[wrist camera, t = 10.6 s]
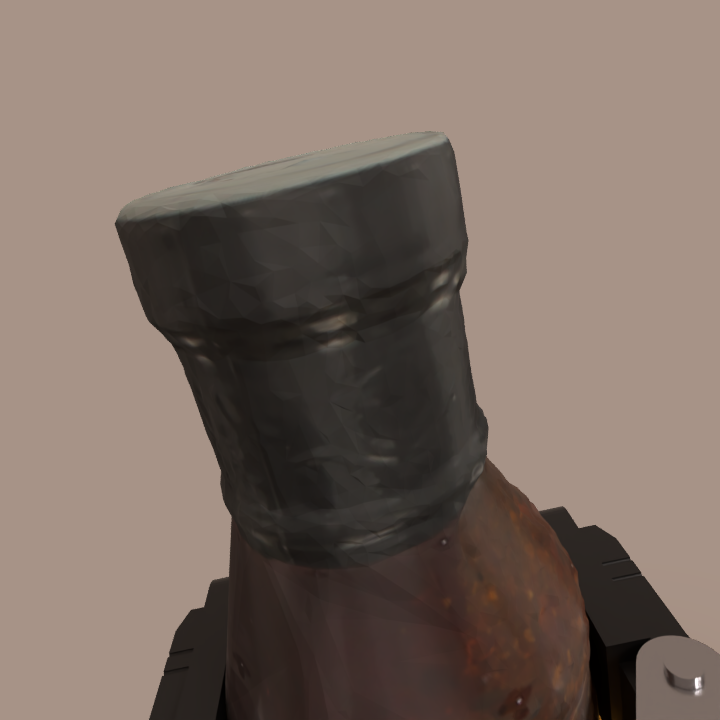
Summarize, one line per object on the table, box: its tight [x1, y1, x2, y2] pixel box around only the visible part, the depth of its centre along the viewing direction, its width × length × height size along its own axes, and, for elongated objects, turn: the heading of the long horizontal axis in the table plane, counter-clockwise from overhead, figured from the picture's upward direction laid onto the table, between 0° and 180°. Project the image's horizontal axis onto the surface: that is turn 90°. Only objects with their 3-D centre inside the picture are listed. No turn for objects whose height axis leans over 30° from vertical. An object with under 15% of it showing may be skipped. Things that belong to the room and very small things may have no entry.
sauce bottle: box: [115, 131, 599, 720], centre depth 11 cm, size 6×6×20 cm
